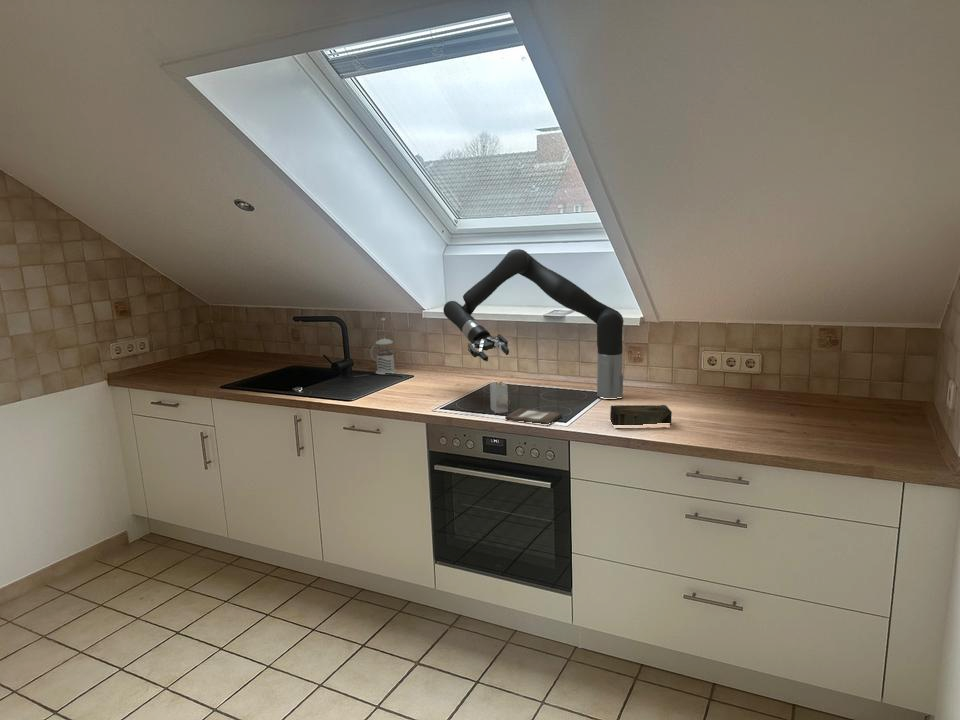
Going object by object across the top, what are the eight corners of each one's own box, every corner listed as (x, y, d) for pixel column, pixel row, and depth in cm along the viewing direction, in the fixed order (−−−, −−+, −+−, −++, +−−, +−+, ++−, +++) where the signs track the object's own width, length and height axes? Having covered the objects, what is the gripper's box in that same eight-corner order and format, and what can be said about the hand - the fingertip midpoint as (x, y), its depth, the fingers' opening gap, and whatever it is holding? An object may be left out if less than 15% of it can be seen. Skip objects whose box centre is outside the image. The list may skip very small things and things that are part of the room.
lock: (502, 408, 252) (501, 379, 250) (507, 412, 246) (507, 383, 244) (490, 409, 250) (489, 381, 248) (496, 413, 245) (495, 384, 243)
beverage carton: (672, 429, 224) (672, 409, 222) (613, 430, 224) (613, 410, 223) (666, 421, 231) (666, 402, 230) (608, 423, 232) (609, 404, 230)
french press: (392, 374, 309) (389, 319, 304) (368, 373, 311) (365, 319, 306) (399, 369, 318) (396, 316, 313) (375, 369, 321) (372, 316, 315)
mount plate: (505, 420, 237) (505, 416, 237) (520, 411, 247) (520, 407, 247) (548, 426, 229) (548, 422, 229) (561, 416, 239) (561, 412, 239)
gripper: (459, 330, 253) (480, 353, 242) (492, 320, 259) (515, 342, 248) (459, 346, 258) (480, 370, 246) (492, 336, 263) (514, 359, 252)
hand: (497, 356), depth 247 cm, fingers open, 8 cm apart
